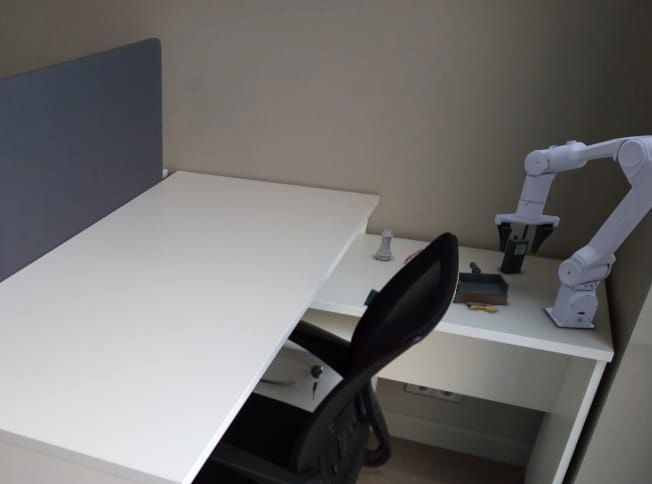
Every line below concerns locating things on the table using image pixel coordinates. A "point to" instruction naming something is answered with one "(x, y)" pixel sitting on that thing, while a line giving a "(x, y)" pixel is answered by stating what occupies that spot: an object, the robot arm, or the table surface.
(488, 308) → the brass key
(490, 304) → the teal key
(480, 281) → the dark grey tray
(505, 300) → the stand
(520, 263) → the walkie-talkie
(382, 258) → the rook chess piece
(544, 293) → the table surface
